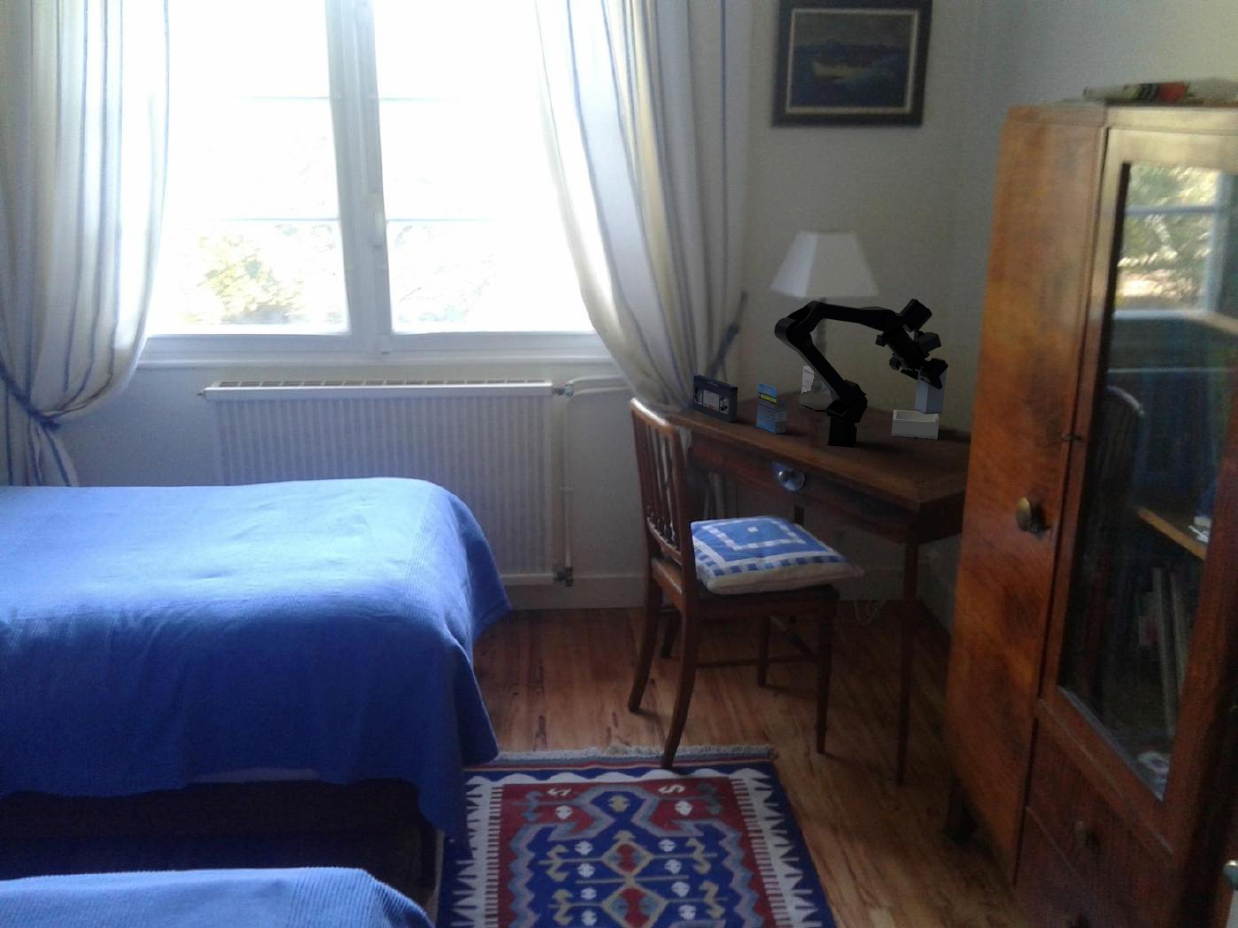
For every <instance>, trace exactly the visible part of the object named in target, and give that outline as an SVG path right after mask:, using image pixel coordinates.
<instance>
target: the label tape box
mask: <svg viewBox="0 0 1238 928" xmlns="http://www.w3.org/2000/svg"><path fill="white" fill-rule="evenodd" d="M766 390H767V391H766ZM777 393H778V388H777V387H774V386H771V385H769V384H766V383H763V382H761V381H759V382H758V387H757V401H756V402H757V406H756V427H757V428H760V429H763V430H765V431H768V432H770V433H773V434H775V435H776V434H783V433H786V432H787V419H788V418H787V416H788V413H787V412H788V408H787V407H788V401H786V400H783V399H781V398H778V397H777V396H778V395H777Z"/></svg>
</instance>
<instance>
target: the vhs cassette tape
mask: <svg viewBox="0 0 1238 928" xmlns="http://www.w3.org/2000/svg"><path fill="white" fill-rule="evenodd" d="M692 385H693V386H692V387H693V388H692V389H693V390H692V393H693V395H692V410H695V411H697V412H699V413H701V414H705V415H707V416H710V417H712V418H715V419H718V420H720V421H723V422H725V423H728V424H731V423H737V418H738V417H737V415H738V414H737V413H738V398H739V397H738V394H739V387H738V386H736V385H733V384H730V383H727V382H724V381H721V380H718V379H715V378H711V377H707V376H704V375H702V374H696V375H693V384H692Z"/></svg>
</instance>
